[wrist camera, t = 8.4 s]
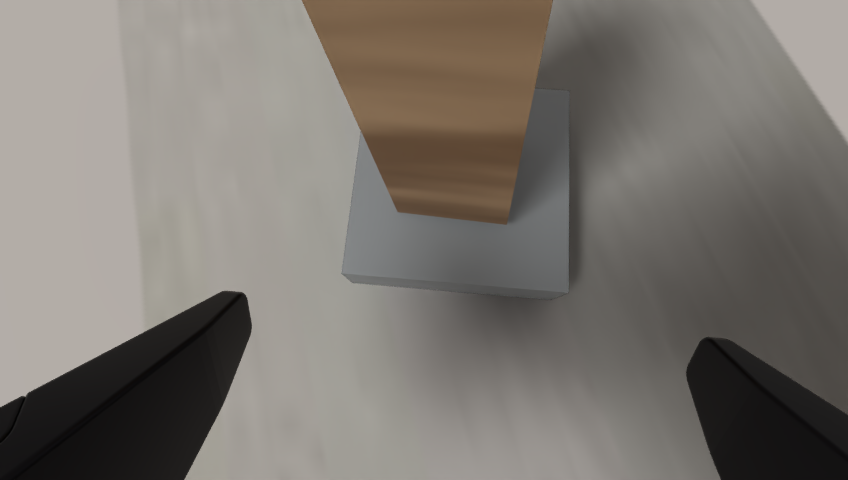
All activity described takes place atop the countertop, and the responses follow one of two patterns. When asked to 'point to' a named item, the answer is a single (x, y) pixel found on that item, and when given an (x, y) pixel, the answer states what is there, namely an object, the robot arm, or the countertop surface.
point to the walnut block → (439, 94)
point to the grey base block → (473, 225)
